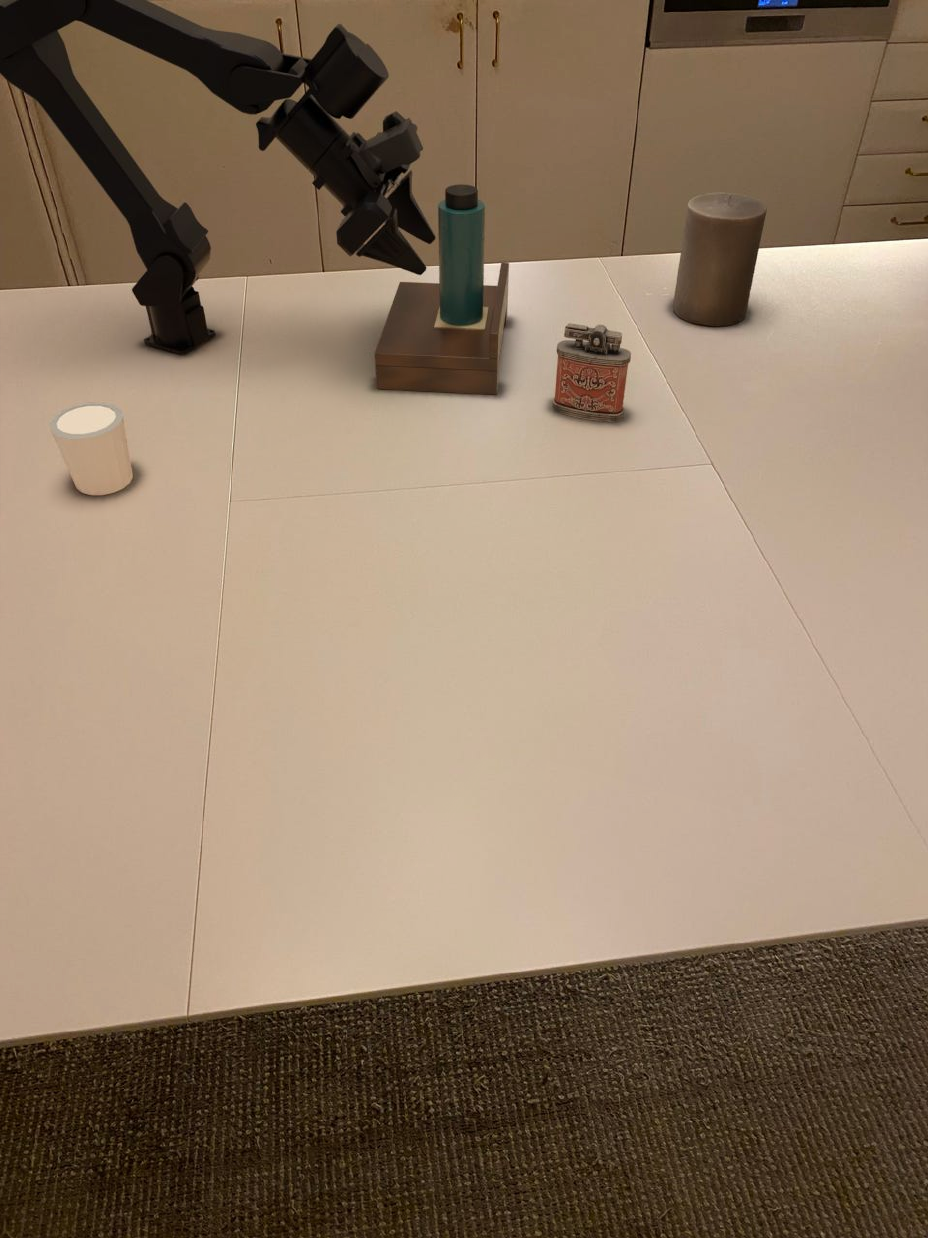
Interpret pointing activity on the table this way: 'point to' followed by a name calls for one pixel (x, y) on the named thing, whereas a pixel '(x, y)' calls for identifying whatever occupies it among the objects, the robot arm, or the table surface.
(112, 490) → the cream cylinder
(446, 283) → the water bottle
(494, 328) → the wooden box
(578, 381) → the lighter
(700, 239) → the pillar candle
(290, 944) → the table surface
